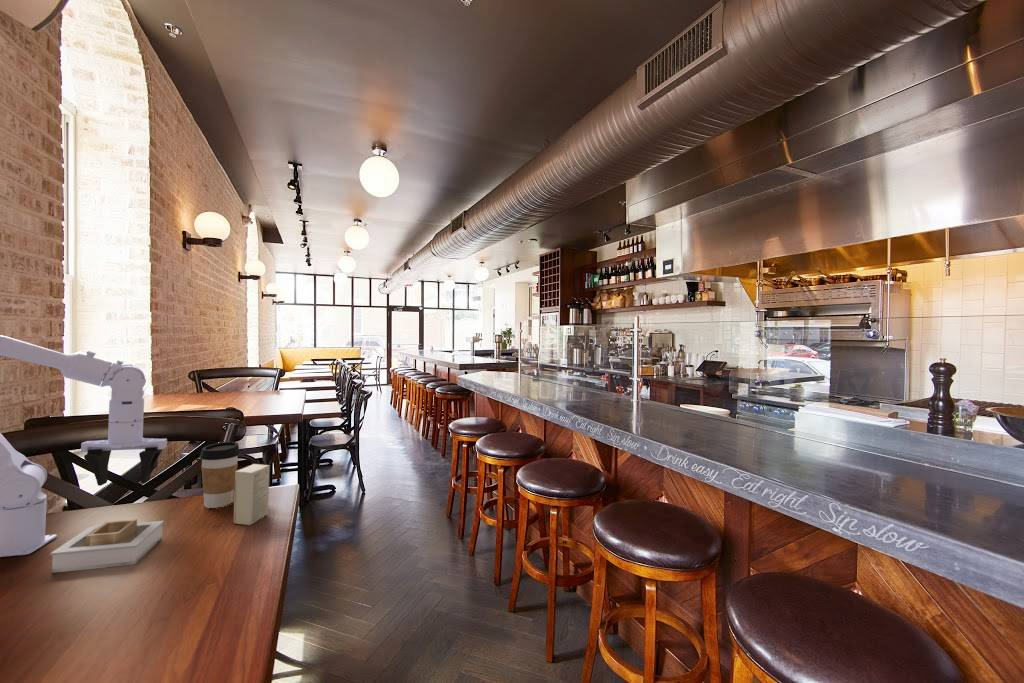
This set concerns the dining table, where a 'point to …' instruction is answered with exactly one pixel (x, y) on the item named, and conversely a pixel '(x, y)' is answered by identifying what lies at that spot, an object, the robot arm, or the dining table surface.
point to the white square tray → (105, 550)
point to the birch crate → (113, 533)
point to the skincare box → (251, 494)
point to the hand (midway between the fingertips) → (124, 482)
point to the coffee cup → (219, 473)
